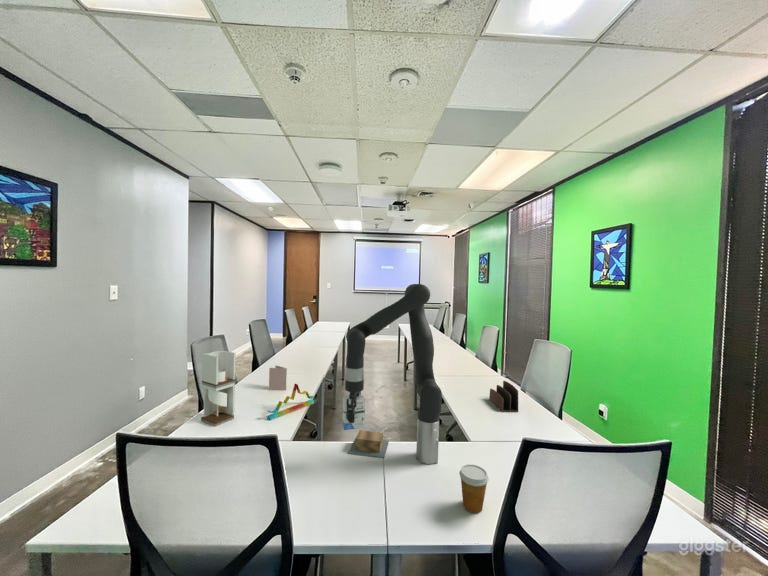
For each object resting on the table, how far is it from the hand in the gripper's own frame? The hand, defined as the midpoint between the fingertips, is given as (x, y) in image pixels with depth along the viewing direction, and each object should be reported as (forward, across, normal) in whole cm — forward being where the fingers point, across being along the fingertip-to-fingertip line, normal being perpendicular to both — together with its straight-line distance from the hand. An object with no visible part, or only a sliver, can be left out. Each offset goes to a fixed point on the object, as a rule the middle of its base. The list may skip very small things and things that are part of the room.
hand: (353, 418), depth 126 cm
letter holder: (+21, +82, -76) cm, 113 cm away
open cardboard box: (+19, +15, -4) cm, 24 cm away
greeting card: (+19, +73, +72) cm, 104 cm away
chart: (+19, +44, +47) cm, 67 cm away
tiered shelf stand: (+19, +24, +79) cm, 85 cm away
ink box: (+3, 0, 0) cm, 3 cm away
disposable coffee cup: (+20, -14, -46) cm, 52 cm away
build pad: (+19, +15, -4) cm, 25 cm away
